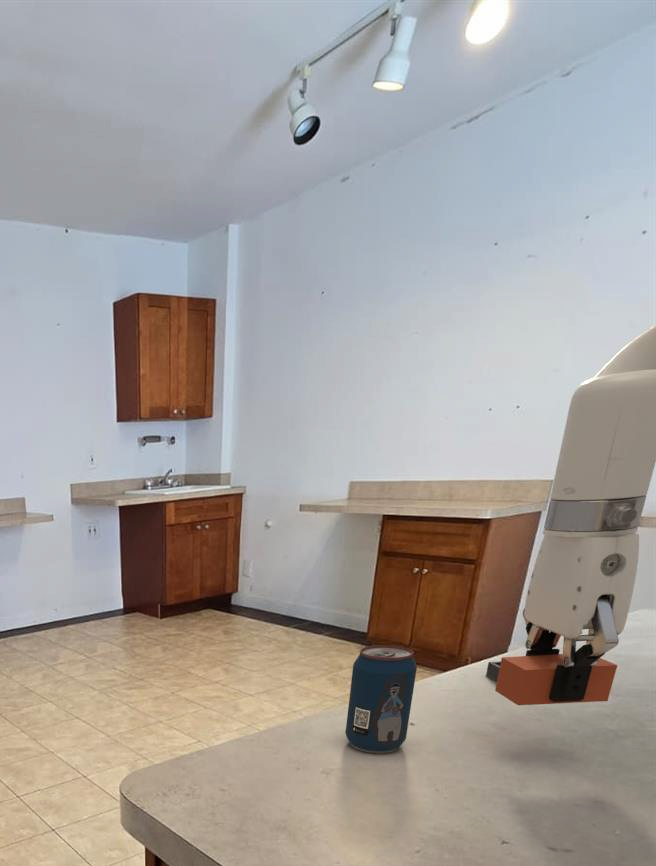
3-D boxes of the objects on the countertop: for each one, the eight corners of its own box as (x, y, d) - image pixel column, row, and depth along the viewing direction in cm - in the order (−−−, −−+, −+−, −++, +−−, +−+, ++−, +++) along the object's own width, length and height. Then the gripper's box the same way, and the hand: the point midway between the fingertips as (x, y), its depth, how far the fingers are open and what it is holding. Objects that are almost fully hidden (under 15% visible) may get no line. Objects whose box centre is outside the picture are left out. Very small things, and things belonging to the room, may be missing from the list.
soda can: (366, 729, 84) (377, 640, 79) (416, 745, 79) (431, 650, 74) (332, 743, 81) (342, 651, 76) (382, 760, 76) (396, 662, 71)
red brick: (578, 686, 73) (587, 652, 71) (607, 701, 68) (617, 665, 66) (494, 690, 74) (501, 657, 72) (517, 705, 69) (525, 670, 67)
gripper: (701, 521, 55) (641, 717, 63) (579, 508, 70) (542, 668, 78) (607, 528, 56) (558, 721, 63) (506, 514, 71) (477, 671, 79)
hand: (550, 690), depth 71 cm, fingers closed on red brick, 5 cm apart
